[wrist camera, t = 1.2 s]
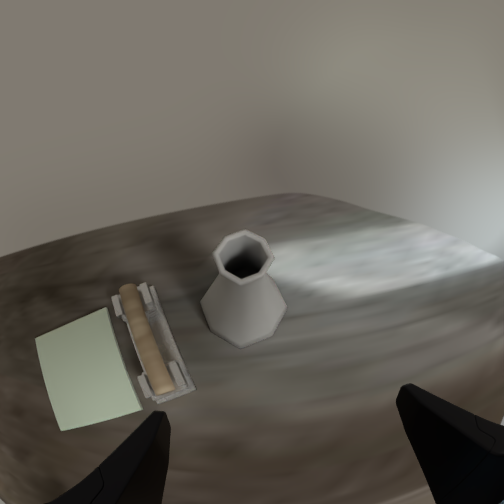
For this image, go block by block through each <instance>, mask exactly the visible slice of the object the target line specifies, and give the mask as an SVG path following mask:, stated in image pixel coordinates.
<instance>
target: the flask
mask: <svg viewBox="0 0 504 504" xmlns="http://www.w3.org/2000/svg"><path fill="white" fill-rule="evenodd" d="M212 256H213V258H214V261H215V263H216V266H217V268H218V271H219V275H218V276H217V277H216V279H215V280H214V282H213V283H212V285H211V286H210V288H209V289H208V291H207V292H206V294H205V295H204V297H203V298H202V300H201V301H200V304H201V307H202V309H203V312H204V315H205V317H206V320H207V322H208V325H209V328H210V330H211V332H212V333H214V334H215V335H217V336H219V337H220V338H222V339H224V340H226V341H227V342H229V343H231V344H232V345H234V346H236V347H238V348H239V349H242V348H245V347H247V346H249V345H252V344H254V343H257V342H259V341H262V340H264V339H266V338H269V337H271V336H272V335H273V333H274V332H275V330H276V328H277V326H278V325H279V323H280V321H281V319H282V317H283V316H284V314H285V312H286V310H287V306H286V304H285V302H284V299H283V297H282V295H281V293H280V291H279V289H278V287H277V285H276V283H275V281H274V280H273V278H272V277H271V276H269V275H268V274H267V271H268V269H269V267H270V266H271V264H272V262H273V261H274V255H273V253H272V252H271V250H270V248H269V246H268V244H267V242H266V240H265V238H263V237H261V236H259V235H257V234H255V233H253V232H251V231H249V230H247V229H243V230H240V231H238V232H235V233H232V234H229V235H226V236H224V237H223V239H222V240H221V242H220V243H219V244H218V246H217V247H216V249H215V250H214V251H213V253H212Z"/></svg>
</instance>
